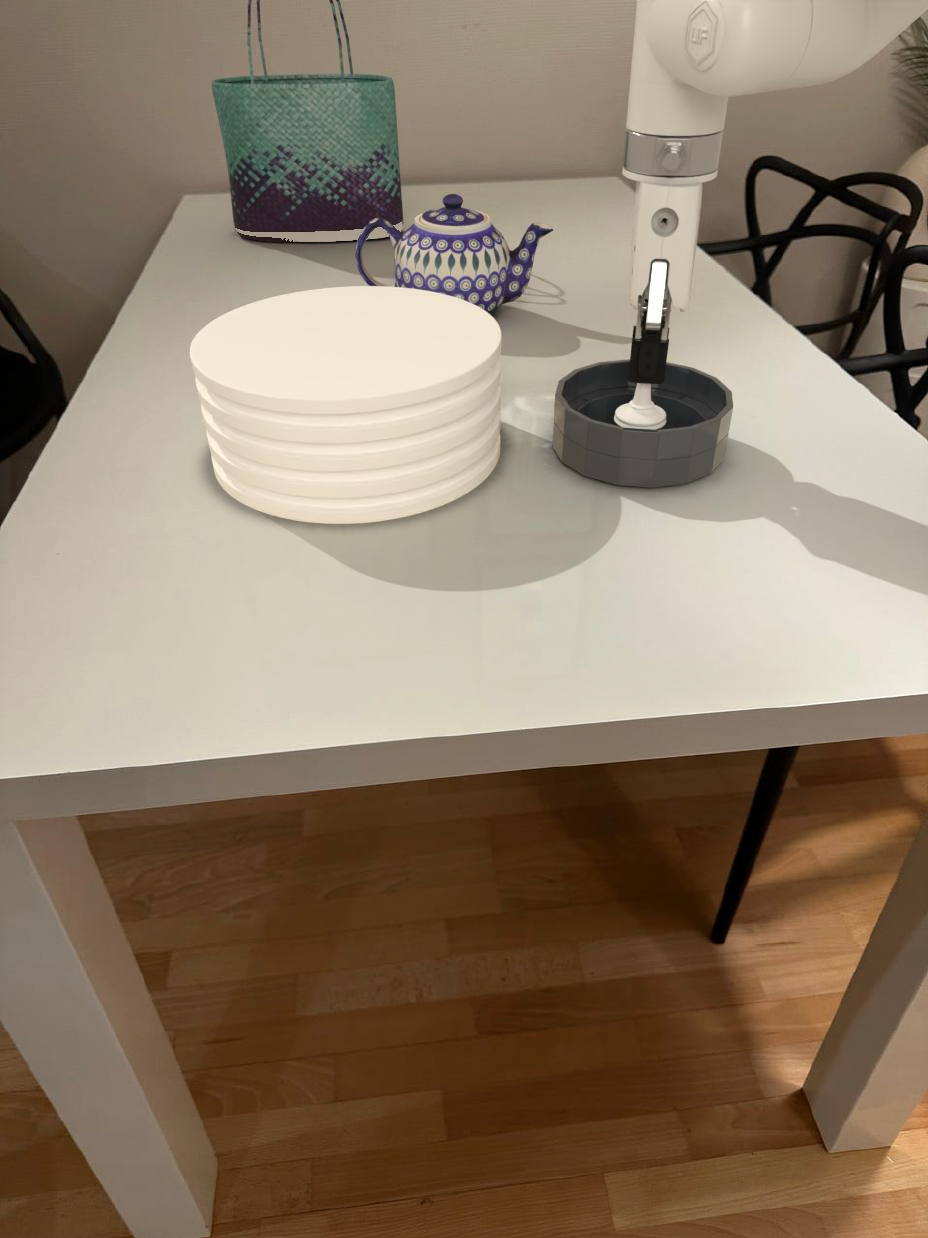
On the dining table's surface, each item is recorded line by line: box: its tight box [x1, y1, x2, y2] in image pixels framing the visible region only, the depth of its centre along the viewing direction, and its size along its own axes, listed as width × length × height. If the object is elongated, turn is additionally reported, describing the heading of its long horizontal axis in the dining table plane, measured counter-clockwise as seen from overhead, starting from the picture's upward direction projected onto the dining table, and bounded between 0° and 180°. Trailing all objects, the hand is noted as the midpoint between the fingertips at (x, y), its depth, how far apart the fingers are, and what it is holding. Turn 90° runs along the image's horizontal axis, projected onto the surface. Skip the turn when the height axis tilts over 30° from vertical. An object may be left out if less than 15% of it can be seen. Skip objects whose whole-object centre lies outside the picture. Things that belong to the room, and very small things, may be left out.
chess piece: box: [614, 336, 666, 430], centre depth 82 cm, size 5×5×10 cm
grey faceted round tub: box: [552, 358, 734, 489], centre depth 85 cm, size 16×16×6 cm
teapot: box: [354, 193, 554, 315], centre depth 114 cm, size 25×15×15 cm, turn 85°
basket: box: [211, 0, 404, 243], centre depth 138 cm, size 28×12×40 cm, turn 88°
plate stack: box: [189, 285, 503, 525], centre depth 85 cm, size 28×28×12 cm
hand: (646, 374), depth 82 cm, fingers closed on chess piece
